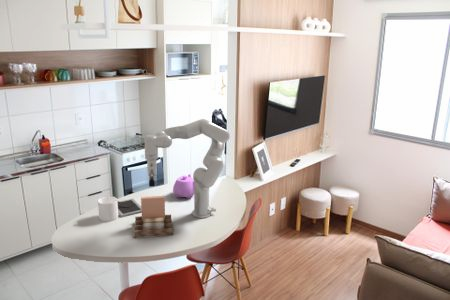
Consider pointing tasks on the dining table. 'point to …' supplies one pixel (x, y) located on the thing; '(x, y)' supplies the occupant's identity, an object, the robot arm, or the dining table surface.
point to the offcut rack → (153, 232)
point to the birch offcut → (153, 220)
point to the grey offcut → (153, 226)
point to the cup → (108, 208)
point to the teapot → (184, 187)
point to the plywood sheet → (153, 207)
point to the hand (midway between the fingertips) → (151, 183)
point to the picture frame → (128, 208)
